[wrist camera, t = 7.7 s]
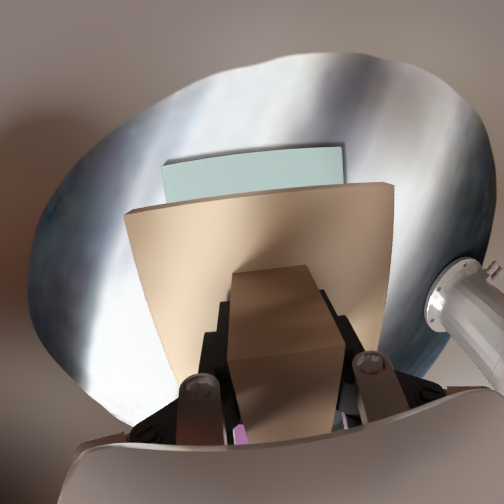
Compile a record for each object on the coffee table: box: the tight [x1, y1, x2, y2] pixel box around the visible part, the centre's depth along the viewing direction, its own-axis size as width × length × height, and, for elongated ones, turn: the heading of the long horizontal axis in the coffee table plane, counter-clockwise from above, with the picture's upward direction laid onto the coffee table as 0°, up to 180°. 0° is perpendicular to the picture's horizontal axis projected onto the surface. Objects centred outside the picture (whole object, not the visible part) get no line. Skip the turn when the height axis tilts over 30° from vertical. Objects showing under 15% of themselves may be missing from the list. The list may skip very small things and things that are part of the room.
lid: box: [123, 182, 394, 444], centre depth 10 cm, size 11×11×6 cm
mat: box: [161, 147, 344, 203], centre depth 28 cm, size 18×14×1 cm
